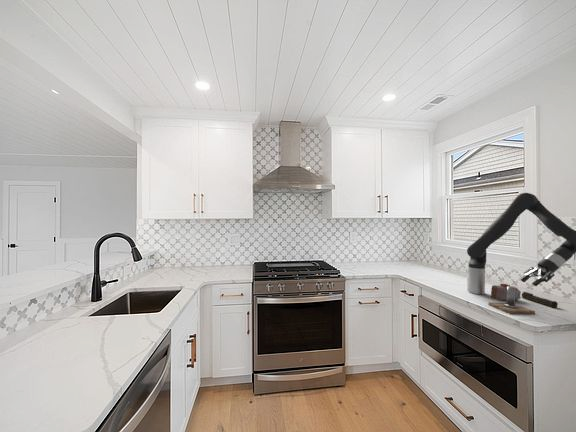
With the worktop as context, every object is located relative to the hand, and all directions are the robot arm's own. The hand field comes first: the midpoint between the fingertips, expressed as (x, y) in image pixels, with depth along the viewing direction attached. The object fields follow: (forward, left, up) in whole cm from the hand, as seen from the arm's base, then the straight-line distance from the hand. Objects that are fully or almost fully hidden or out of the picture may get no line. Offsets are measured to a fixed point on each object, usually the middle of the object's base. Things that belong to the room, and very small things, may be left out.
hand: (527, 282), depth 143 cm
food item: (-19, +4, -16) cm, 25 cm away
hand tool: (-13, +19, -16) cm, 28 cm away
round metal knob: (-2, -8, -14) cm, 16 cm away
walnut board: (-2, -8, -15) cm, 18 cm away
